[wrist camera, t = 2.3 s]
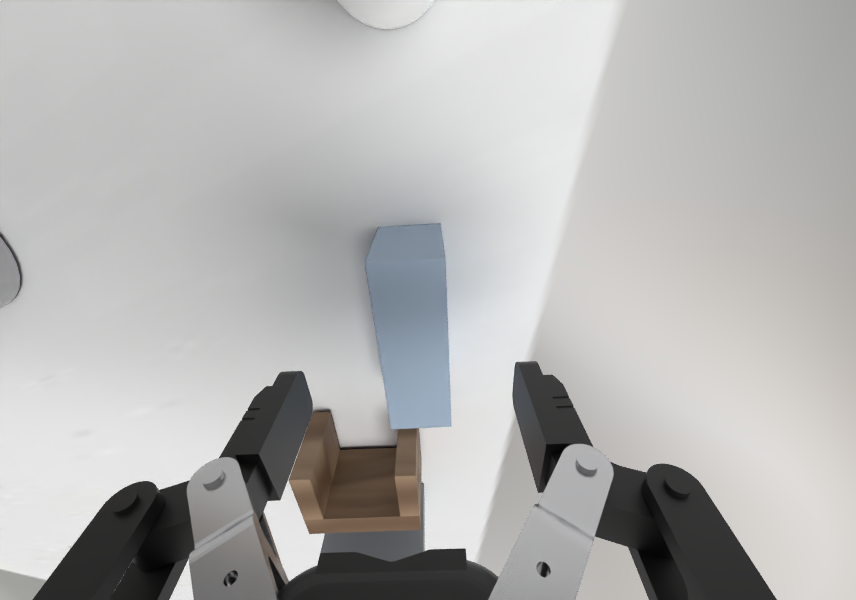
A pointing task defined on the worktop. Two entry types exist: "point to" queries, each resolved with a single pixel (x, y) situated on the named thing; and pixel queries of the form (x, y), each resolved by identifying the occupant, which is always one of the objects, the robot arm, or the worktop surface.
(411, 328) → the peg
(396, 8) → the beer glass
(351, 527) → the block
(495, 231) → the worktop surface
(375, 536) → the wall
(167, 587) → the robot arm
